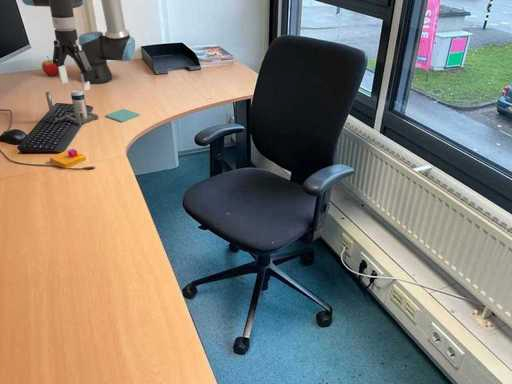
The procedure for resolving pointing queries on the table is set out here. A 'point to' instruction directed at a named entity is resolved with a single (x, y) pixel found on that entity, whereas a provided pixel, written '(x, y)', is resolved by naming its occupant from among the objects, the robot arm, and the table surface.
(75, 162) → the orange flat block
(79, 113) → the beer can
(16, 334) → the table surface
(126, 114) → the coaster
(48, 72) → the apple
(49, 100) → the square frame with rod
